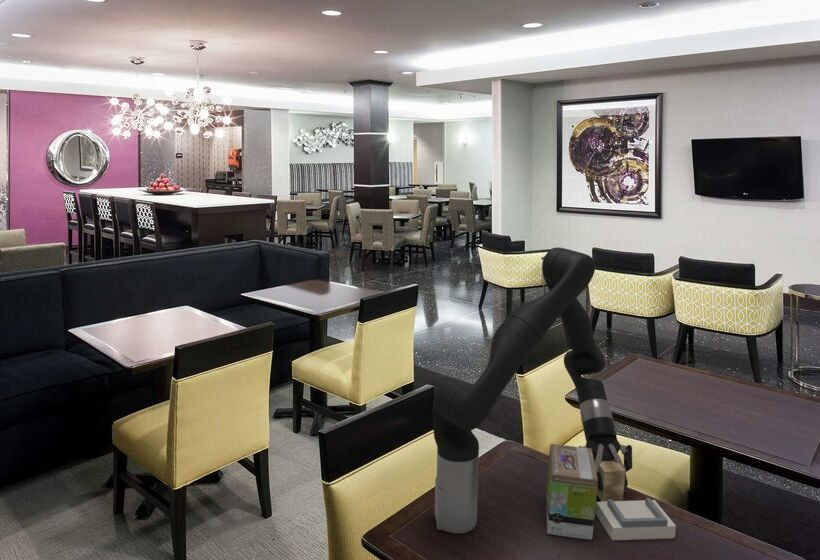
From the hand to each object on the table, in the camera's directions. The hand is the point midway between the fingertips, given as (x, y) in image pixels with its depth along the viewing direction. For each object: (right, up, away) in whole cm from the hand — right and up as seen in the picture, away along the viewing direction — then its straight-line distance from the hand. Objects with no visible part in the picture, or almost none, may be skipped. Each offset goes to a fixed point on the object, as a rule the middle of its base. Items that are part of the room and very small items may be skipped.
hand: (612, 489), depth 142 cm
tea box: (-12, -5, -4) cm, 14 cm away
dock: (+2, -6, -7) cm, 9 cm away
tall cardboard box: (0, -4, +3) cm, 5 cm away
